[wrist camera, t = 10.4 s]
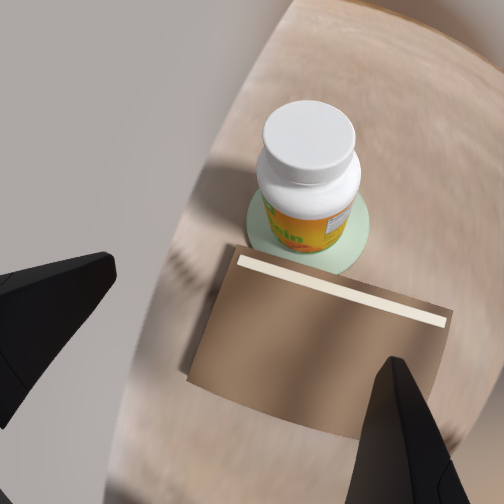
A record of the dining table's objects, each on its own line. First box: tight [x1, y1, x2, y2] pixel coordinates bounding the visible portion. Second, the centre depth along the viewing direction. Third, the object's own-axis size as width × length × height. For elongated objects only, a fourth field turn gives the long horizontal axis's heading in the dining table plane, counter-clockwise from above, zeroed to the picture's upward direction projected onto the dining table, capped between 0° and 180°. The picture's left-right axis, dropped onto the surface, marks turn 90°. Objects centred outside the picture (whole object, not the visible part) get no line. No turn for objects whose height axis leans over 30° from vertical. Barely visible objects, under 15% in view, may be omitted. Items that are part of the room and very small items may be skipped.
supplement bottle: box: [256, 100, 361, 255], centre depth 16 cm, size 5×5×10 cm
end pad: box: [246, 188, 369, 275], centre depth 20 cm, size 9×9×1 cm
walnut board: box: [186, 244, 453, 440], centre depth 17 cm, size 16×10×1 cm, turn 70°
